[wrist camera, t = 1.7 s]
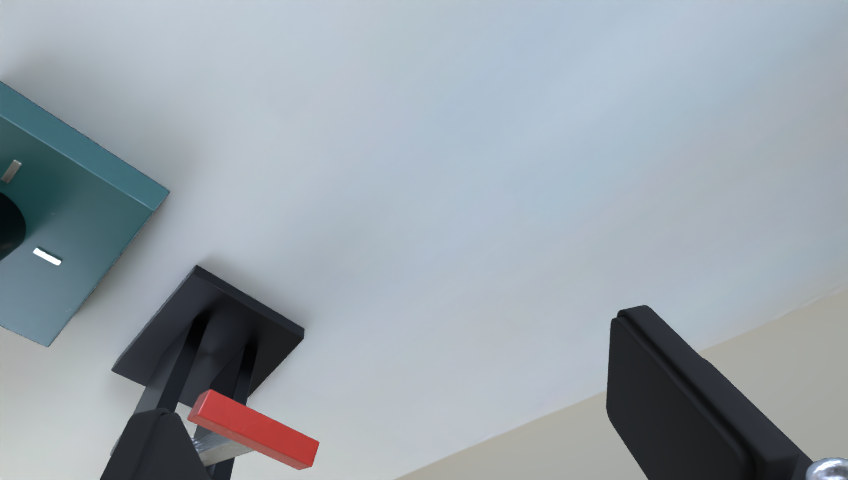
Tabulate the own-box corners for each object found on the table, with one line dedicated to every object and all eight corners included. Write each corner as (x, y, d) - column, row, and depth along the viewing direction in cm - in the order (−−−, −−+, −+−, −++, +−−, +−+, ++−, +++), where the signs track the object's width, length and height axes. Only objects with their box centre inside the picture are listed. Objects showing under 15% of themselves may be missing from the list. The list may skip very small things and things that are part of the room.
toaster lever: (217, 373, 20) (188, 430, 19) (324, 427, 22) (307, 482, 21) (128, 426, 27) (101, 470, 26) (215, 463, 30) (196, 506, 28)
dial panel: (-114, 227, 29) (-164, 254, 26) (-16, 69, 26) (-61, 79, 23) (71, 318, 33) (46, 349, 31) (170, 191, 31) (153, 211, 28)
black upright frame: (196, 264, 33) (130, 393, 22) (305, 328, 37) (293, 467, 26) (116, 359, 35) (21, 520, 25) (226, 411, 39) (186, 571, 28)
